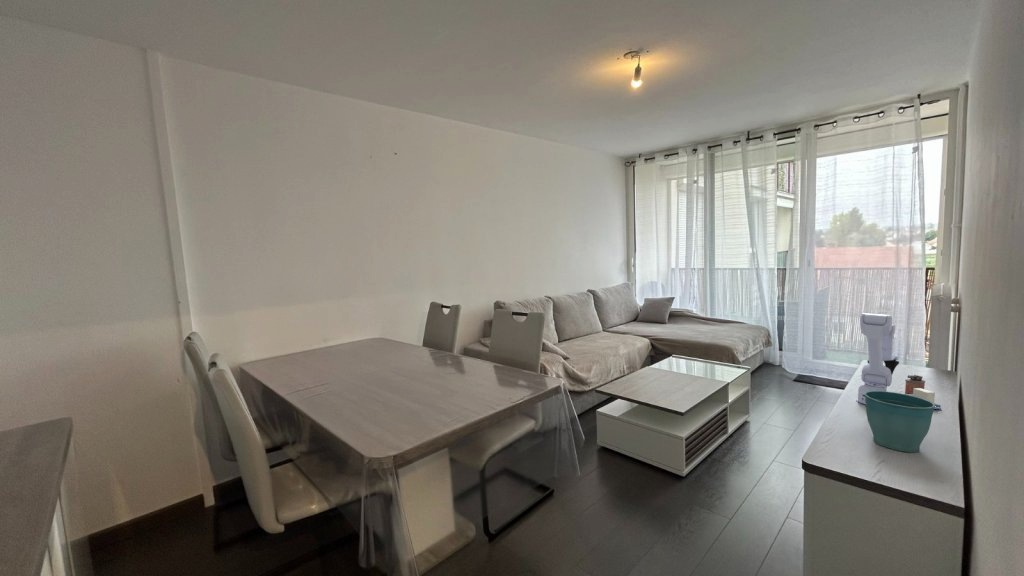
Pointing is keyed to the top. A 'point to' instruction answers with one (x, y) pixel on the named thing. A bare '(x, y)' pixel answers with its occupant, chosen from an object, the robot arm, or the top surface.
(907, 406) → the flower pot
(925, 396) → the cream rectangular block
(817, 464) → the top surface
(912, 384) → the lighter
